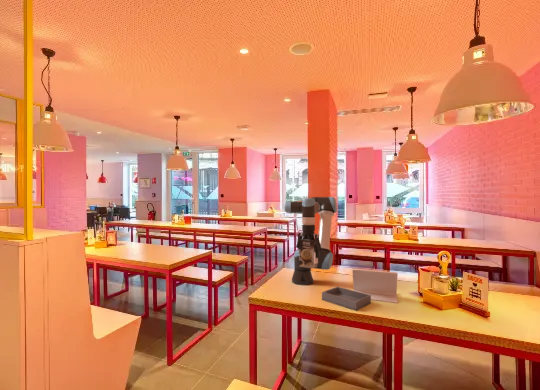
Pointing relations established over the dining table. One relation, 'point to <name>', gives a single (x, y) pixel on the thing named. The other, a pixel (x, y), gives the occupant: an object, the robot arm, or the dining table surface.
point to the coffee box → (307, 253)
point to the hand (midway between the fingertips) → (308, 261)
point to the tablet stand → (376, 284)
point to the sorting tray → (346, 298)
